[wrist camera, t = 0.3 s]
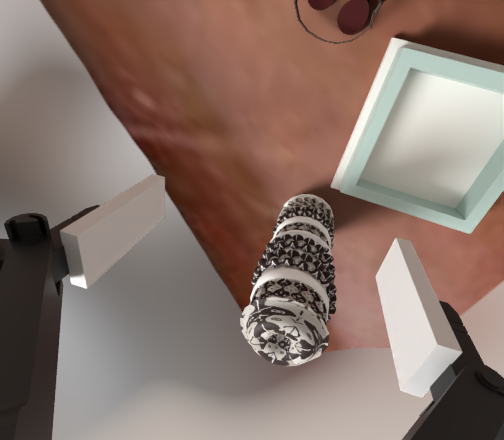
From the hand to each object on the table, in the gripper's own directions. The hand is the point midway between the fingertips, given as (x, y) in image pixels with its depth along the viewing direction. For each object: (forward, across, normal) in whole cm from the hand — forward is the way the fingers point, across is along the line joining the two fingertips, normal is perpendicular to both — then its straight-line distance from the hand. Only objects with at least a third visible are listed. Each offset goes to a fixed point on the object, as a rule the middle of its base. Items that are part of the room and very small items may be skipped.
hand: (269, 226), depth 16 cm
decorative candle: (+28, +4, -13) cm, 31 cm away
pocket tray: (+27, +16, +2) cm, 32 cm away
